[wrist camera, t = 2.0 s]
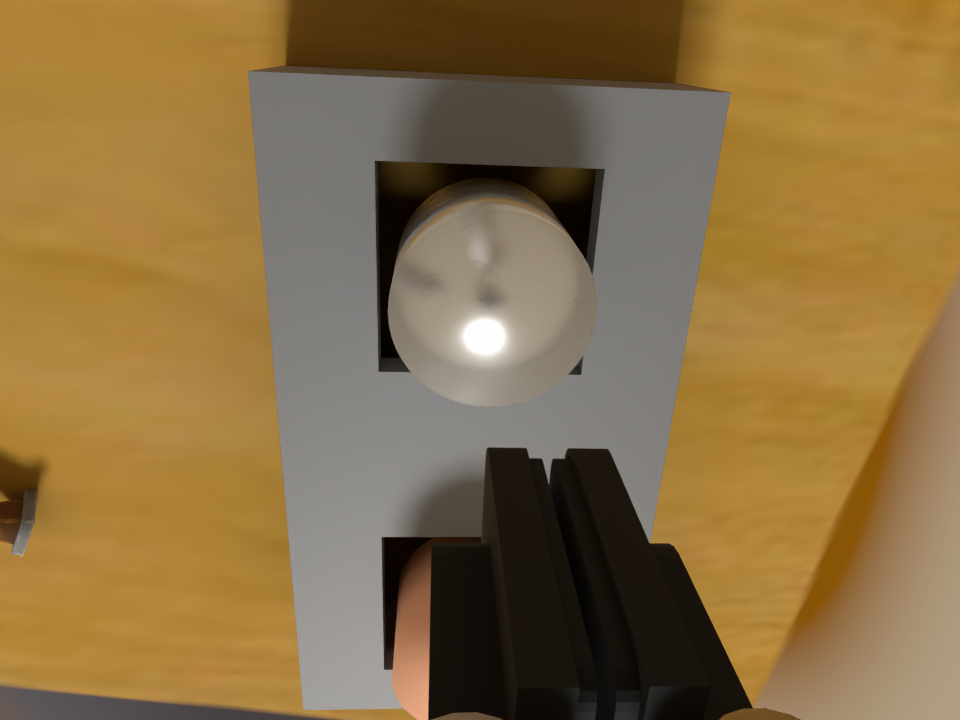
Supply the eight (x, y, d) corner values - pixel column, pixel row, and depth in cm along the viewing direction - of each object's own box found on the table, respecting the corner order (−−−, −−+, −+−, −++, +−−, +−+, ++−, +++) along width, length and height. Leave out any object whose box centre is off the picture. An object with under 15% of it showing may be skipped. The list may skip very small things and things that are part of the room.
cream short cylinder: (396, 174, 19) (386, 205, 15) (577, 180, 19) (609, 213, 16) (397, 342, 21) (388, 405, 17) (560, 346, 21) (585, 407, 18)
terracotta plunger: (398, 529, 24) (391, 617, 20) (542, 530, 24) (560, 615, 21) (399, 638, 26) (392, 735, 22) (531, 636, 26) (546, 731, 23)
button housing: (285, 65, 21) (248, 71, 17) (675, 83, 22) (730, 92, 18) (322, 619, 30) (303, 709, 26) (596, 616, 31) (620, 704, 27)
